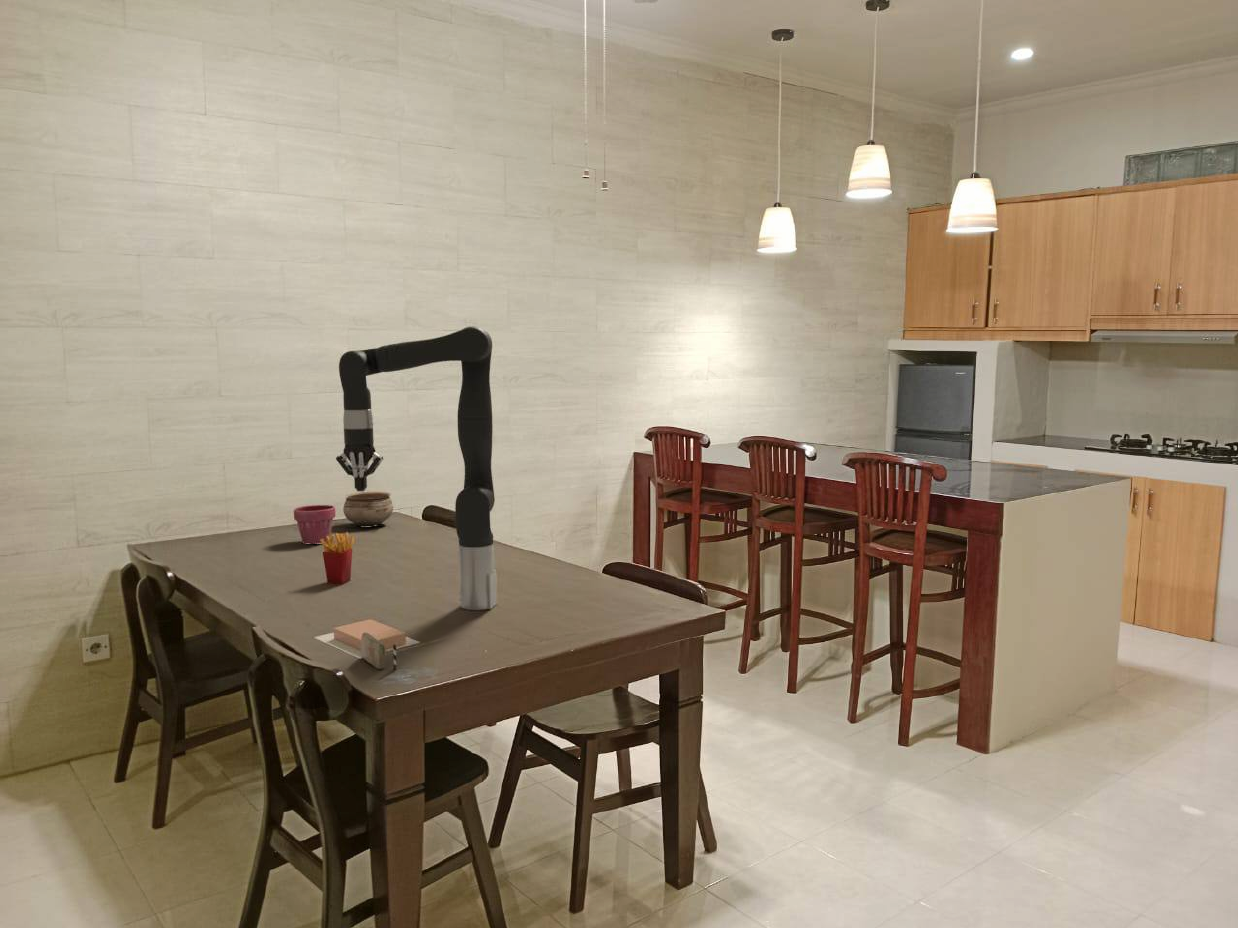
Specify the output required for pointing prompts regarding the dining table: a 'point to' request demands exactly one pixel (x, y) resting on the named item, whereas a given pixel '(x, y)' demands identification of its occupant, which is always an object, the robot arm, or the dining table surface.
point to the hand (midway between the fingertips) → (361, 490)
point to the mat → (352, 650)
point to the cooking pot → (368, 508)
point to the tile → (379, 631)
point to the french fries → (338, 559)
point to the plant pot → (314, 522)
